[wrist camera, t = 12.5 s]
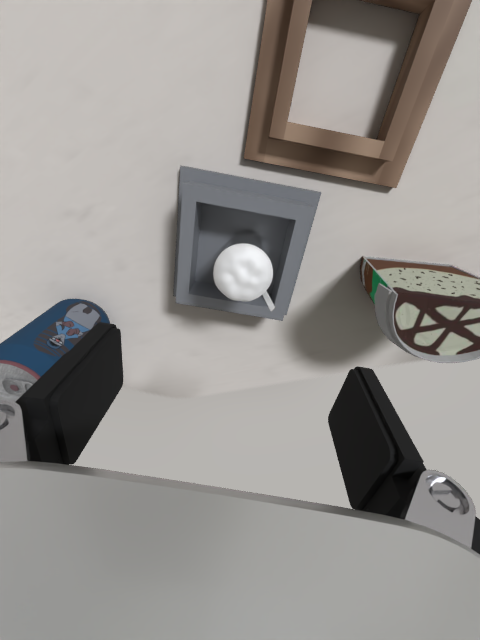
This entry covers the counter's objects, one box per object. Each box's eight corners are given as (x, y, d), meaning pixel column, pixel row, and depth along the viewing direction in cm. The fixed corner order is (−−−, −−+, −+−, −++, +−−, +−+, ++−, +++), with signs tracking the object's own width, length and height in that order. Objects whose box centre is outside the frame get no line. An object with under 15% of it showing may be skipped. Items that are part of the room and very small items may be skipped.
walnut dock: (483, -39, 19) (507, -60, 17) (393, 187, 26) (403, 189, 24) (280, -87, 18) (283, -114, 16) (243, 158, 25) (243, 158, 23)
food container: (333, 307, 32) (363, 361, 23) (347, 254, 29) (389, 293, 20) (439, 317, 32) (510, 375, 23) (465, 266, 29) (557, 309, 20)
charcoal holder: (319, 192, 26) (330, 196, 22) (285, 312, 32) (289, 331, 29) (181, 165, 25) (170, 165, 22) (174, 294, 32) (164, 310, 28)
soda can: (63, 339, 35) (-17, 412, 25) (53, 289, 32) (-44, 350, 22) (117, 347, 36) (60, 422, 25) (113, 299, 32) (46, 363, 22)
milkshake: (252, 281, 30) (252, 329, 21) (214, 248, 28) (196, 284, 20) (282, 250, 28) (296, 289, 19) (244, 213, 27) (239, 236, 18)
